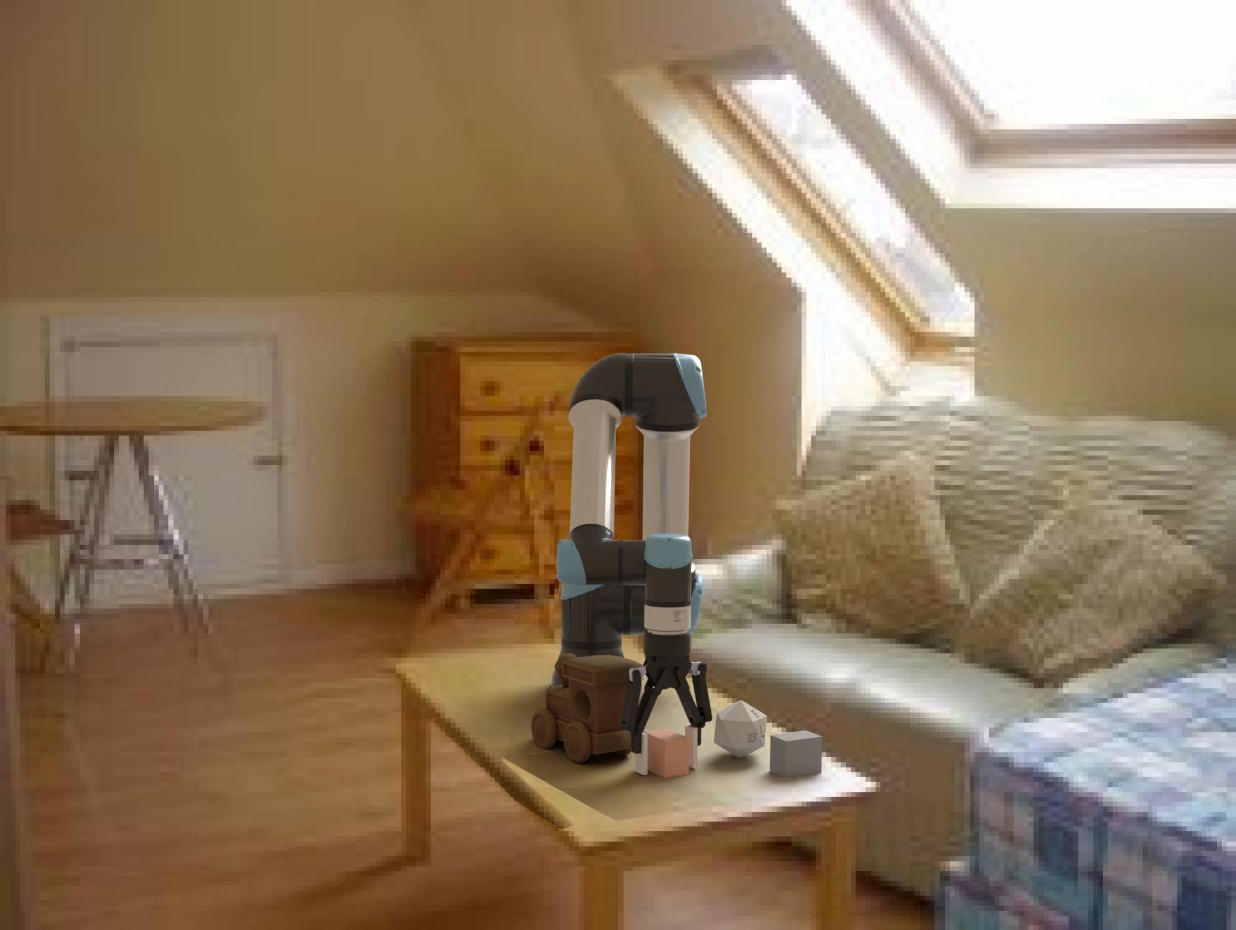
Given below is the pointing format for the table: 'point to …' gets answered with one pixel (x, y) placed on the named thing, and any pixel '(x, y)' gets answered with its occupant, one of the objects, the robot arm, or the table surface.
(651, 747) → the salmon pink block
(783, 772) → the gray rectangular block
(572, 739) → the wooden toy train
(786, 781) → the table surface
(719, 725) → the die
